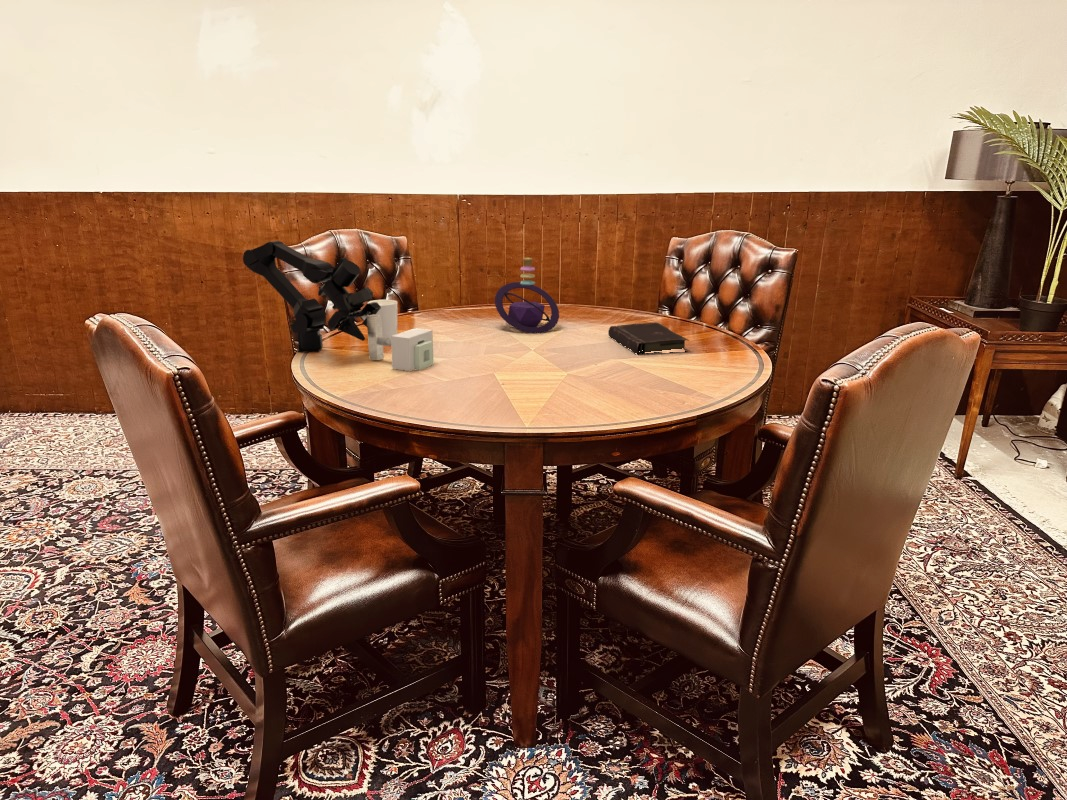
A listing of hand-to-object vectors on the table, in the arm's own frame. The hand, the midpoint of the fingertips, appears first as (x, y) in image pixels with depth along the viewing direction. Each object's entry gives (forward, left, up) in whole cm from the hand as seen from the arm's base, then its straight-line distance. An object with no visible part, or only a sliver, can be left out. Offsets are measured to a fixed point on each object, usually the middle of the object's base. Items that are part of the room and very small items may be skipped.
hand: (372, 337), depth 214 cm
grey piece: (+6, -4, -7) cm, 10 cm away
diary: (+87, +16, -7) cm, 89 cm away
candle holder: (0, +29, -7) cm, 30 cm away
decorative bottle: (+49, +42, -7) cm, 65 cm away
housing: (+12, -7, -7) cm, 16 cm away
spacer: (+16, -9, -7) cm, 19 cm away
